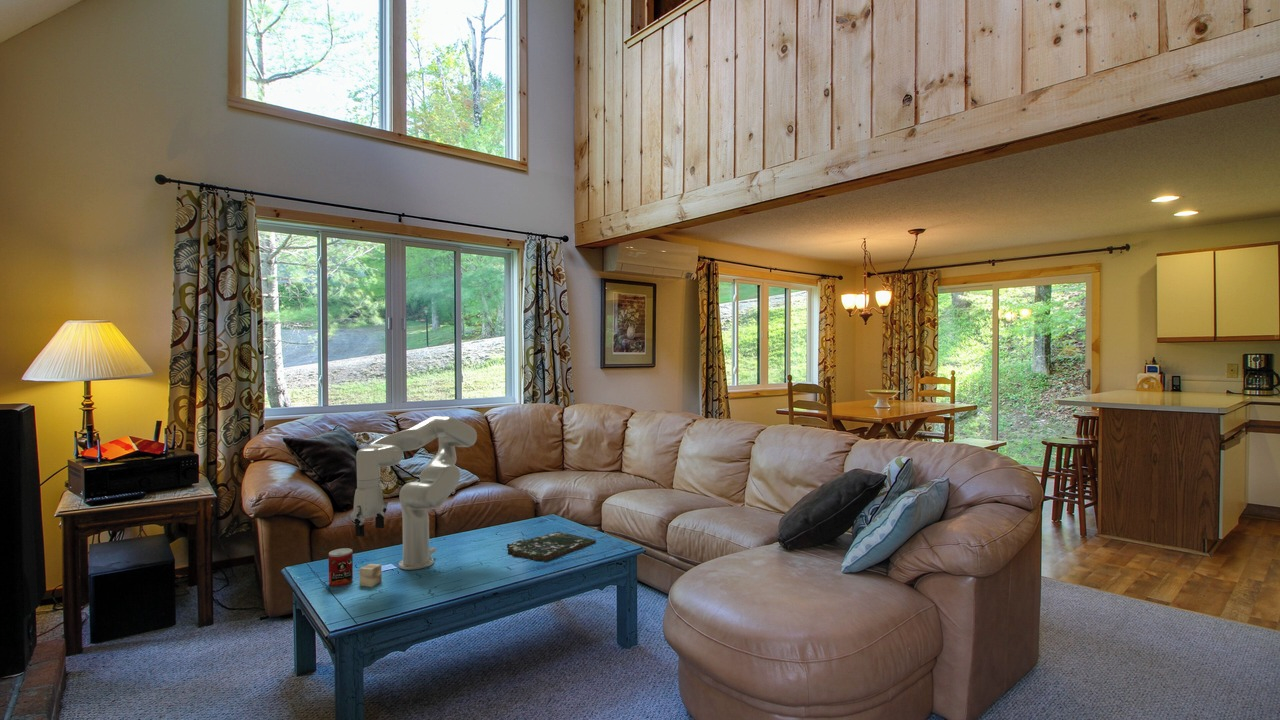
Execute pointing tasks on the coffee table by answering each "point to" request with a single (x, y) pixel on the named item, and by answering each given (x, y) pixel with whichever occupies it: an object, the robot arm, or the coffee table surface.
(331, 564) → the canned food
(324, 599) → the coffee table surface
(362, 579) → the beech block
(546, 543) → the topographical map
